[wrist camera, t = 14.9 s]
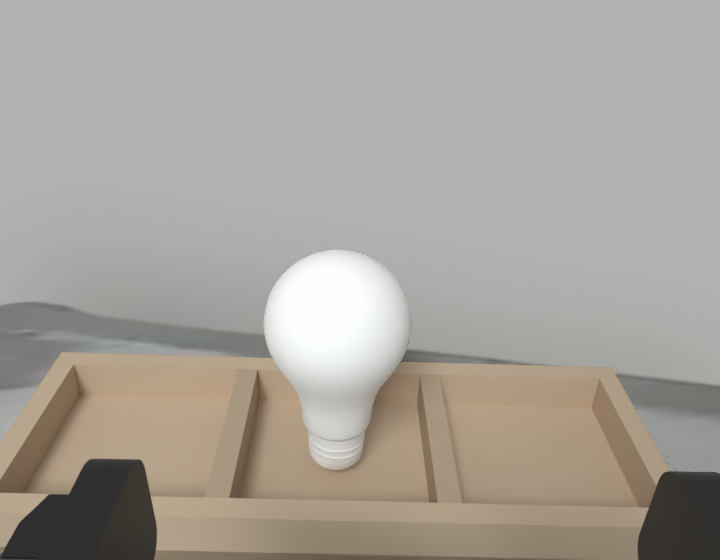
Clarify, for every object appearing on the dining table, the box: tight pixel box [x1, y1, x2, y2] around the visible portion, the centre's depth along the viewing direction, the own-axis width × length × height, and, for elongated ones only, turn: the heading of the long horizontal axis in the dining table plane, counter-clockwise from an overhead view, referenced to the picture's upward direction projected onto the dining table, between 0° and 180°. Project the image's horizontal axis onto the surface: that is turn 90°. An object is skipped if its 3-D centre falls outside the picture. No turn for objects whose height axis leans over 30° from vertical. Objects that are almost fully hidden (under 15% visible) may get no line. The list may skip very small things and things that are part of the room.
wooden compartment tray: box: [0, 352, 670, 560], centre depth 30 cm, size 30×10×3 cm, turn 90°
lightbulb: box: [264, 250, 412, 470], centre depth 28 cm, size 6×6×11 cm
